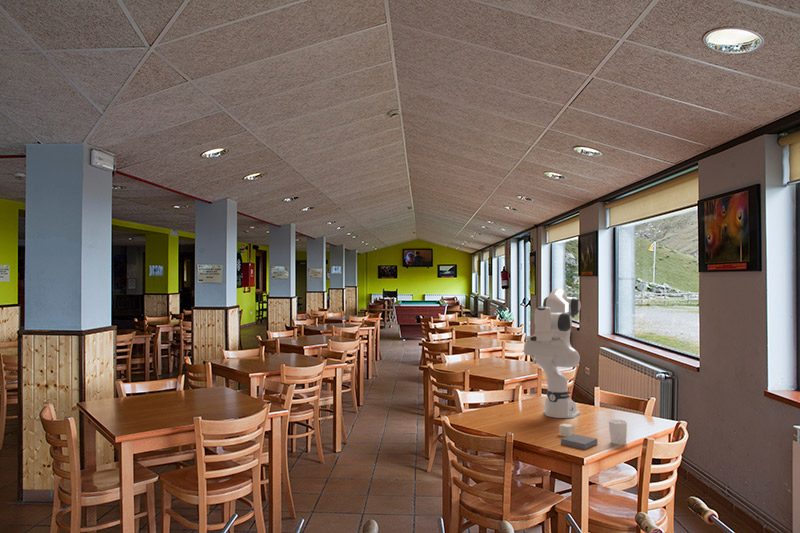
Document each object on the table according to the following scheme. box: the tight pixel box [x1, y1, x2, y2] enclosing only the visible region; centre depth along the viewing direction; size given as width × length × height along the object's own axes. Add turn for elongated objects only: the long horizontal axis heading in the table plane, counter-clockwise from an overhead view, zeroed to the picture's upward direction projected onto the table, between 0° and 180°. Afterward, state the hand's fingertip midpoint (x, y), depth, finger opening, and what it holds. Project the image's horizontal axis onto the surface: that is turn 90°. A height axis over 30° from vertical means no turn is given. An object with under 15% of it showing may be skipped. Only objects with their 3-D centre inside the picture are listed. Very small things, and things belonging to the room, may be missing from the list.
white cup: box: [608, 419, 628, 446], centre depth 244 cm, size 8×8×10 cm
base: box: [560, 433, 598, 450], centre depth 242 cm, size 12×12×2 cm
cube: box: [558, 423, 575, 437], centre depth 258 cm, size 5×5×5 cm
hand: (543, 363), depth 270 cm, fingers open, 8 cm apart
